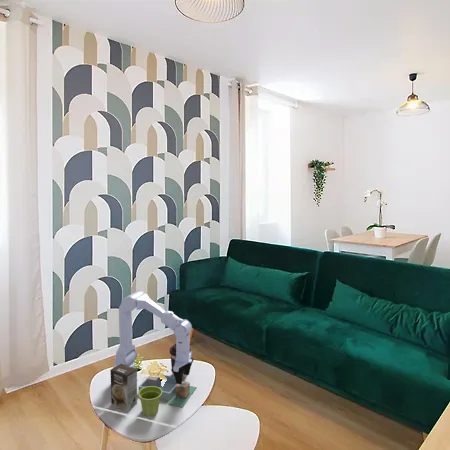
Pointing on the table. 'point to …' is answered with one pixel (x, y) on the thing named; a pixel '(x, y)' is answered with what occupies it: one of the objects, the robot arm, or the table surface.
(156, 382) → the plain block
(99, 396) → the table surface
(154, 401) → the plant pot
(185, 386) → the labelled block
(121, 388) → the coffee box
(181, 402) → the mat
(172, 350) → the coffee cup
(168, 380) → the bin
